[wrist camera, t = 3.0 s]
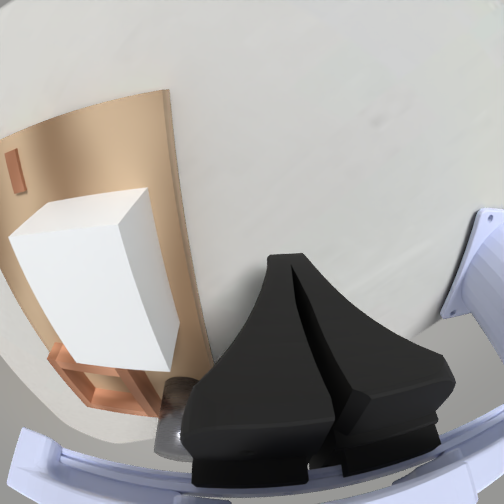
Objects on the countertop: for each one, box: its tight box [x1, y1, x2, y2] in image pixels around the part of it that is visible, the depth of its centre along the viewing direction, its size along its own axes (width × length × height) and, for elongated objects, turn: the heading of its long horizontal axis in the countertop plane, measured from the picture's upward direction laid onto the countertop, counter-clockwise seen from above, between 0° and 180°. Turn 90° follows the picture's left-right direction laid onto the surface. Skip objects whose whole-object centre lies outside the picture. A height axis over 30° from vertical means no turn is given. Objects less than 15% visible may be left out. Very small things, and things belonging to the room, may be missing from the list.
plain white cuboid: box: [8, 187, 180, 372], centre depth 11 cm, size 5×7×3 cm
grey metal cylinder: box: [154, 377, 199, 462], centre depth 15 cm, size 3×3×5 cm
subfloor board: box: [0, 90, 214, 418], centre depth 13 cm, size 12×20×2 cm, turn 2°
